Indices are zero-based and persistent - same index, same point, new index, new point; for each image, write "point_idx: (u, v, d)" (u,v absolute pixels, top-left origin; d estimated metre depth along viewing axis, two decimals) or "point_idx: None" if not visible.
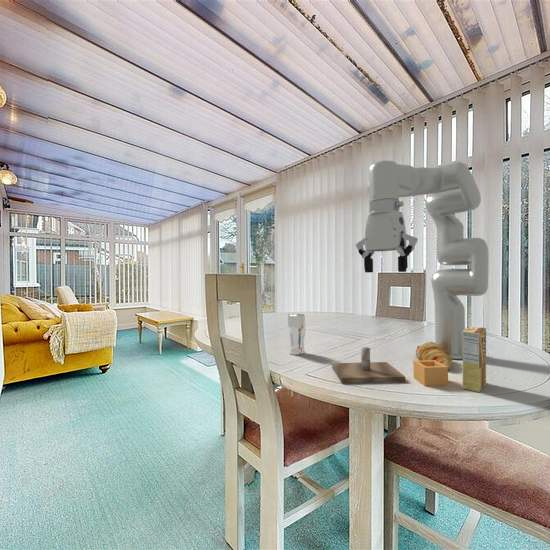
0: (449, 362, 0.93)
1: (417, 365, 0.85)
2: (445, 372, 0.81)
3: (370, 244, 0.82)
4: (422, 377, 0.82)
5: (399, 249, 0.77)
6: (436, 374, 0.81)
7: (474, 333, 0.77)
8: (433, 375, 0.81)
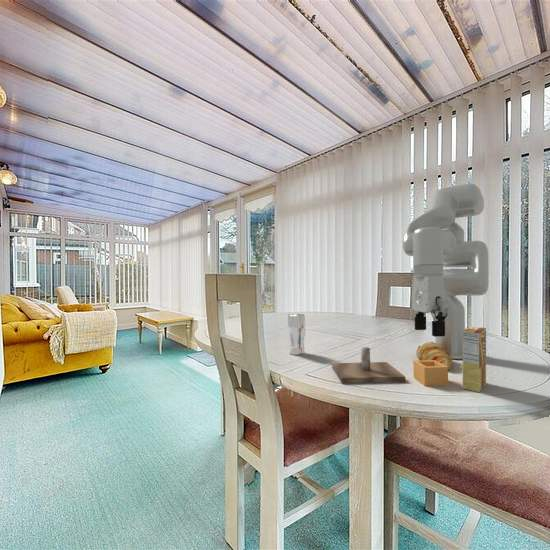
0: (449, 362, 0.93)
1: (417, 365, 0.85)
2: (445, 372, 0.81)
3: None
4: (422, 377, 0.82)
5: None
6: (436, 374, 0.81)
7: (474, 333, 0.77)
8: (433, 375, 0.81)
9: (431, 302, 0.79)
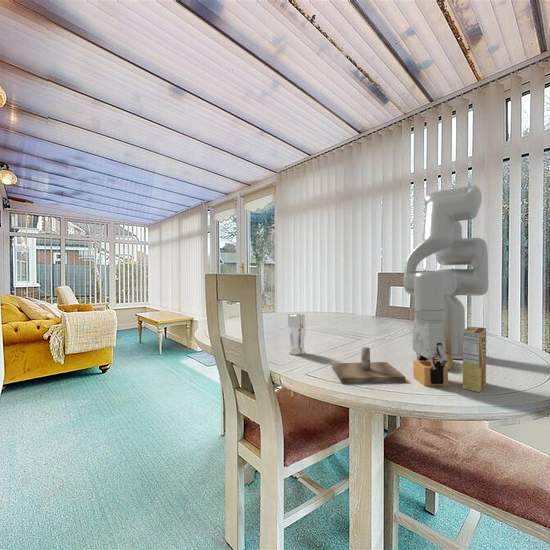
0: (449, 362, 0.93)
1: (417, 365, 0.85)
2: (445, 372, 0.81)
3: None
4: (422, 377, 0.82)
5: None
6: None
7: (474, 333, 0.77)
8: None
9: (432, 349, 0.79)
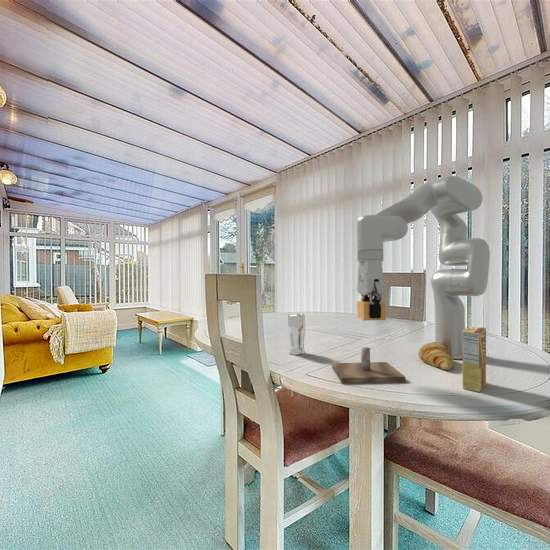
0: (449, 362, 0.93)
1: (359, 304, 0.91)
2: (383, 308, 0.87)
3: None
4: (362, 312, 0.88)
5: None
6: None
7: (474, 333, 0.77)
8: None
9: (370, 284, 0.85)
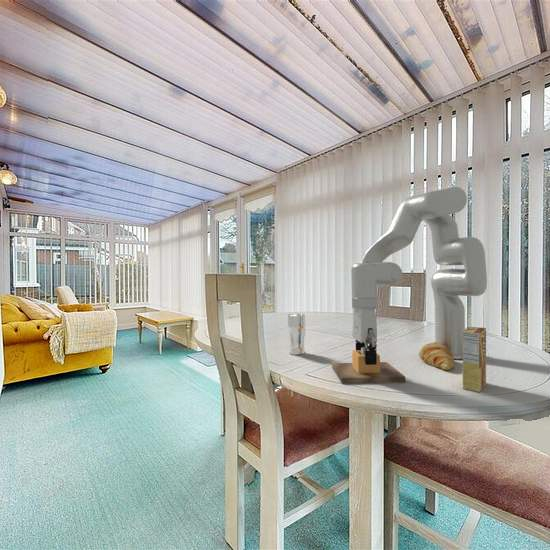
0: (449, 363, 0.93)
1: (354, 354, 0.92)
2: (377, 361, 0.88)
3: None
4: (357, 365, 0.89)
5: None
6: None
7: (474, 333, 0.77)
8: None
9: (364, 333, 0.86)
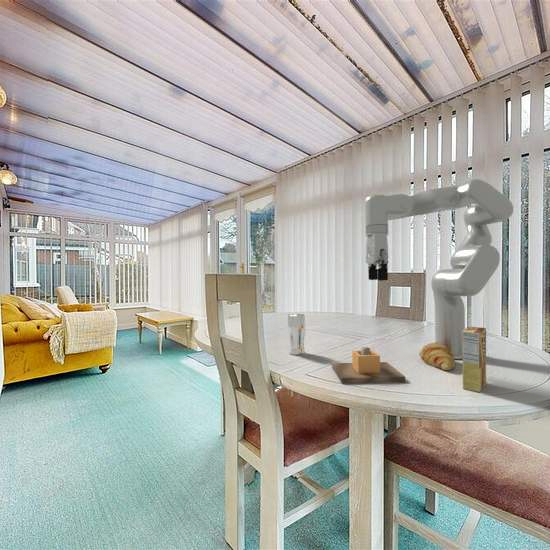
0: (450, 363, 0.93)
1: (354, 354, 0.92)
2: (377, 361, 0.88)
3: None
4: (357, 365, 0.89)
5: None
6: (369, 362, 0.88)
7: (474, 333, 0.77)
8: (366, 363, 0.88)
9: (377, 253, 1.00)
